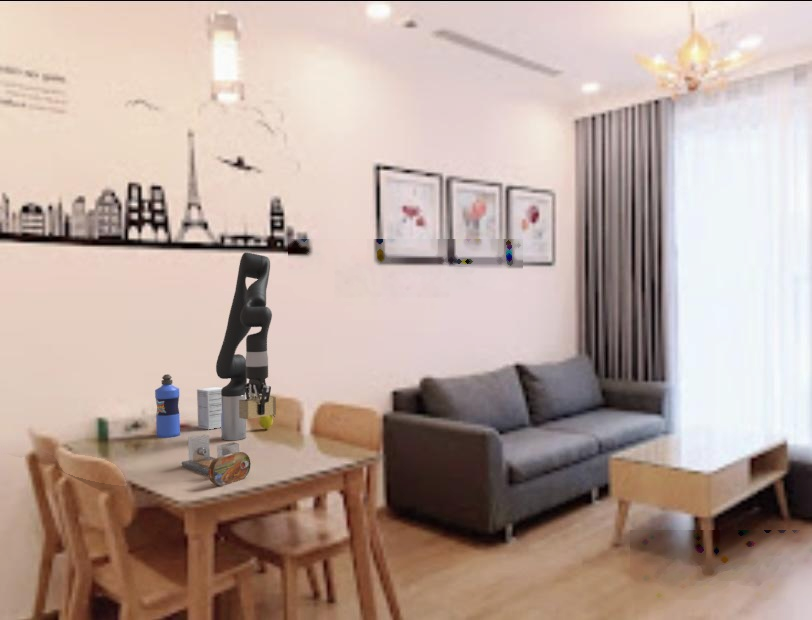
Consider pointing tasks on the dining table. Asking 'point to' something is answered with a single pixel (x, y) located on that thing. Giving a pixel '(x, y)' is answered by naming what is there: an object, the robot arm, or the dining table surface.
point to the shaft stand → (205, 453)
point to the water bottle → (167, 409)
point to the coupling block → (256, 408)
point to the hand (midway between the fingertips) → (257, 413)
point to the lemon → (266, 421)
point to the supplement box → (209, 407)
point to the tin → (229, 468)
